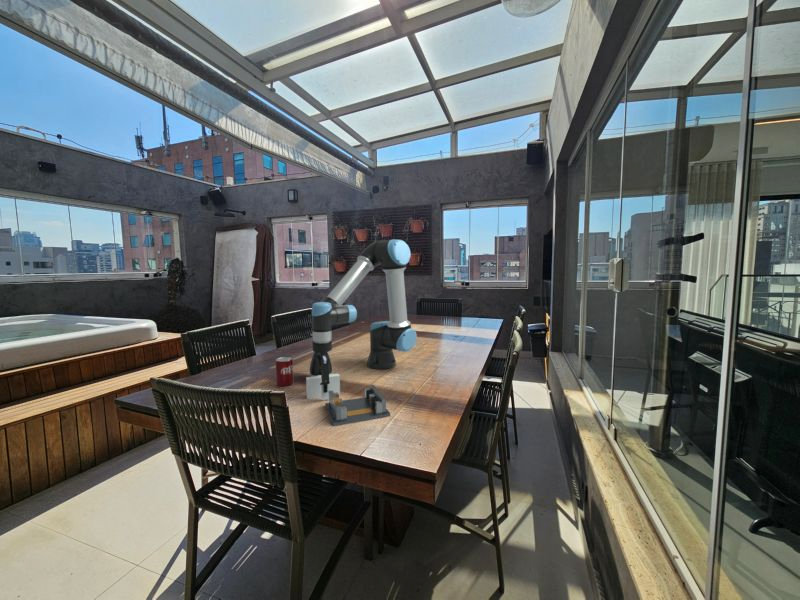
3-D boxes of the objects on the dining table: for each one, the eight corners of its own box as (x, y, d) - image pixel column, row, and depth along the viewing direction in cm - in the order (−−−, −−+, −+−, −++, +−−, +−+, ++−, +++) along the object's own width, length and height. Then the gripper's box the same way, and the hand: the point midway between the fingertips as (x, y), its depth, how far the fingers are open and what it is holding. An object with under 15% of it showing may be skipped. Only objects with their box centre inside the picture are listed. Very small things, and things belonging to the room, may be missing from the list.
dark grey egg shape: (316, 385, 148) (315, 351, 146) (305, 379, 156) (305, 347, 154) (336, 380, 155) (336, 347, 153) (325, 374, 162) (325, 343, 161)
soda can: (272, 386, 146) (271, 359, 145) (285, 381, 152) (284, 355, 151) (284, 389, 142) (283, 362, 141) (297, 384, 149) (296, 358, 148)
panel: (338, 392, 141) (338, 373, 140) (340, 394, 138) (339, 375, 137) (306, 396, 136) (306, 377, 135) (307, 399, 133) (306, 379, 132)
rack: (375, 398, 134) (375, 381, 133) (390, 416, 118) (390, 397, 118) (325, 405, 127) (324, 387, 126) (333, 426, 111) (333, 405, 110)
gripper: (309, 336, 143) (310, 386, 146) (316, 348, 123) (317, 407, 125) (326, 334, 146) (327, 384, 148) (336, 346, 125) (337, 404, 128)
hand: (323, 394), depth 137 cm, fingers open, 10 cm apart
